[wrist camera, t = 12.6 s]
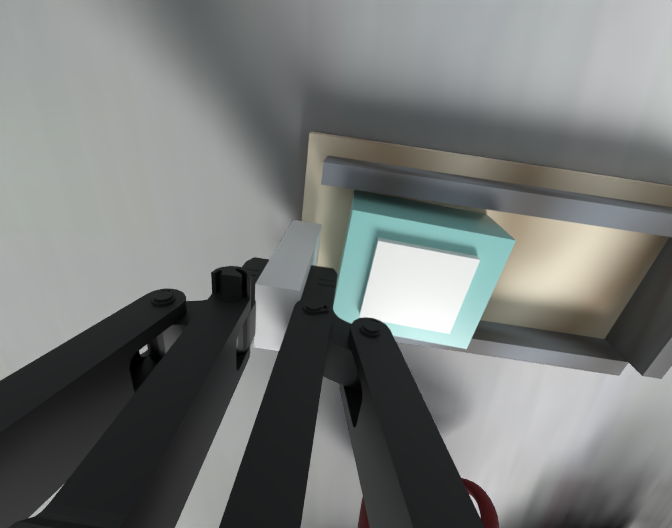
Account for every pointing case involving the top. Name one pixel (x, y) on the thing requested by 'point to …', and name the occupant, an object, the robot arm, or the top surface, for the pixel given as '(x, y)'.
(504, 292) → the rail mount
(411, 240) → the block
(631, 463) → the top surface
